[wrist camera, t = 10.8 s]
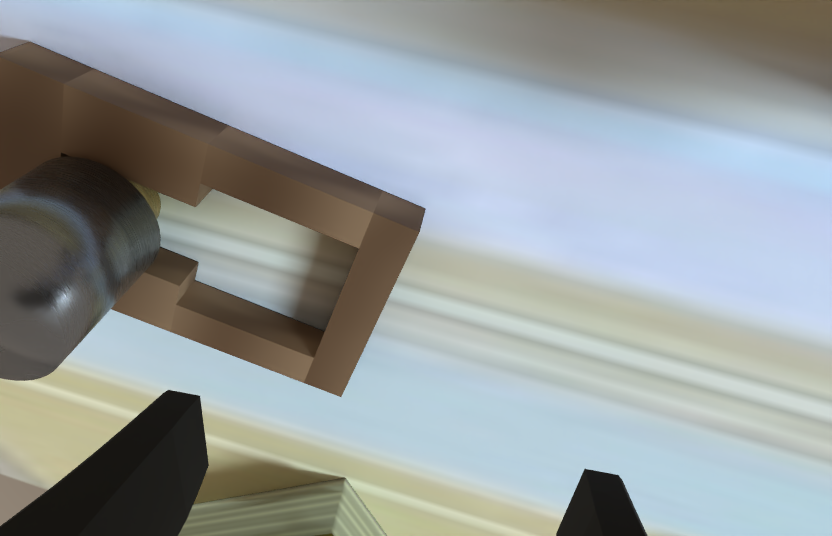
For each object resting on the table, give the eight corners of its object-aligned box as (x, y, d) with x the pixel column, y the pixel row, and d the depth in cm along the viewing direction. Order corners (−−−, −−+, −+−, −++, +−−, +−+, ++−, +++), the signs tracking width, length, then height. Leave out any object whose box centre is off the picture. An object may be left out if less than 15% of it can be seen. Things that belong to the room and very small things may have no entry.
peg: (210, 207, 21) (96, 335, 15) (140, 269, 22) (16, 402, 17) (104, 107, 19) (-68, 208, 13) (39, 183, 21) (-135, 299, 15)
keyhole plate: (425, 208, 19) (419, 232, 18) (350, 369, 24) (341, 397, 23) (30, 41, 18) (-6, 54, 17) (28, 244, 23) (0, 266, 21)
